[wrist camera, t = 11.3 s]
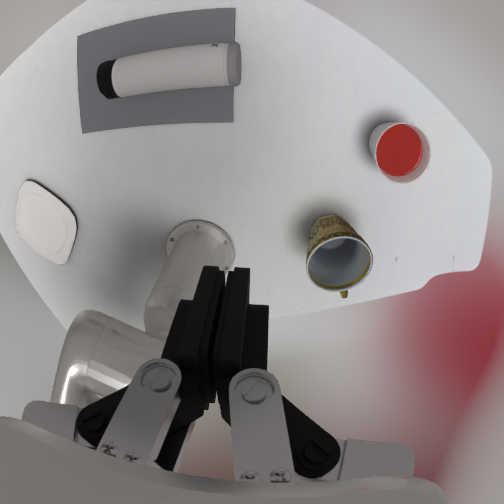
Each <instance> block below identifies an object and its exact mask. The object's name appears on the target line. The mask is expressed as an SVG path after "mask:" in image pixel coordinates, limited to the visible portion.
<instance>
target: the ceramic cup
mask: <svg viewBox="0 0 504 504" xmlns="http://www.w3.org/2000/svg"><path fill="white" fill-rule="evenodd" d="M372 265H373V255H372V252H371V250H370V248H369V246H368V245H367V243H366V242H365V241H364V240H363V239H362V237H361V236H360V235H358V234H357V233H356V231H355V230H354V229H353V228H352V227H351V226H350V225H349V224H348V223H347V222H346V221H345V220H343V219H342V218H340V217H338V216H336V215H335V214H330V215H326V216H322V217H319V218H318V220H317V221H316V222H315V224H314V225H313V227H312V228H311V230H310V237H309V247H308V251H307V259H306V271H307V275H308V277H309V279H310V281H311V282H312V283H313V284H314V285H315V286H316V287H318V288H320V289H322V290H325V291H330V292H340V294H341V296H342V298H346V297H347V295H348V290H349V289H351V288H353V287H355V286H357V285H359V284H360V283H361V282H362V281H363V280H364V279H365V278H366V277H367V276H368V274H369V273H370V271H371V268H372Z"/></svg>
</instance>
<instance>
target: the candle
mask: <svg viewBox="0 0 504 504" xmlns="http://www.w3.org/2000/svg"><path fill="white" fill-rule="evenodd" d="M369 148H370V152H371V154H372V156H373V158H374V161H375V163H376V165H377V167H378V169H379V171H380V172H381V174H382V175H383V176H384V177H385V178H386V179H388V180H389V181H391V182H393V183H397V184H408V183H411V182H414V181H416V180H417V179H419V178H420V177H421V176H422V175H423V174H424V173H425V171H426V170H427V168H428V166H429V163H430V159H431V146H430V142H429V140H428V138H427V136H426V134H425V133H424V132H423V131H422V130H421V129H420V128H419V127H417V126H416V125H413V124H410V123H404V122H388V123H383V124H380V125H379V126H377V127H376V128H375V129H374V130H373V132H372V133H371V136H370V139H369Z"/></svg>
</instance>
